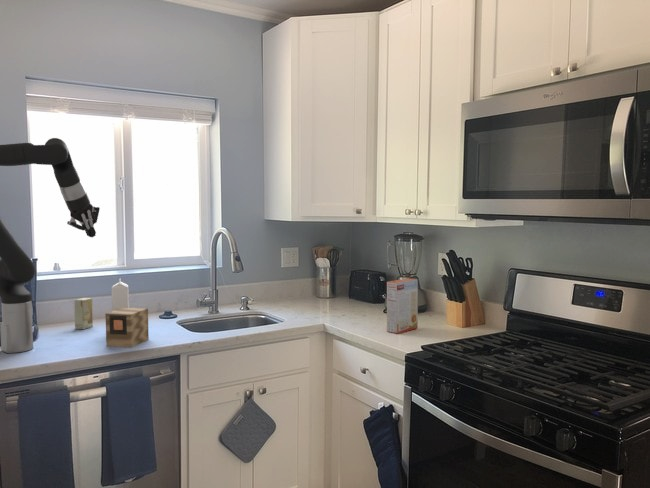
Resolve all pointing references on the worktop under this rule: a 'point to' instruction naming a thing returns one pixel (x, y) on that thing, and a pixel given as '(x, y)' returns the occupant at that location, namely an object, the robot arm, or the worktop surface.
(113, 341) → the block
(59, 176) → the robot arm
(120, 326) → the peg
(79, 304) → the skincare box
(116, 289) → the milk
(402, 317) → the cracker box
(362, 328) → the worktop surface
